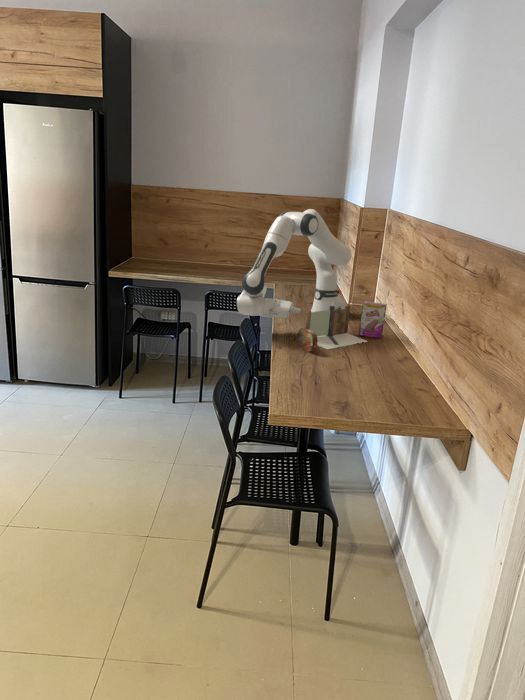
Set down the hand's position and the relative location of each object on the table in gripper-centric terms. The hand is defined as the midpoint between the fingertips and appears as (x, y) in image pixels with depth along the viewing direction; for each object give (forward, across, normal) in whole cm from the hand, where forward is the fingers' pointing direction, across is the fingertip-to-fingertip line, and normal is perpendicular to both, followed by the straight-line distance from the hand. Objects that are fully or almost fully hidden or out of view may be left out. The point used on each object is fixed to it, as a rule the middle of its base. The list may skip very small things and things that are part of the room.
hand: (300, 311), depth 245 cm
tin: (+5, -16, +13) cm, 22 cm away
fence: (+18, +10, +12) cm, 24 cm away
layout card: (+16, +1, +12) cm, 20 cm away
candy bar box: (+34, +14, +12) cm, 39 cm away
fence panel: (+8, 0, +11) cm, 14 cm away
